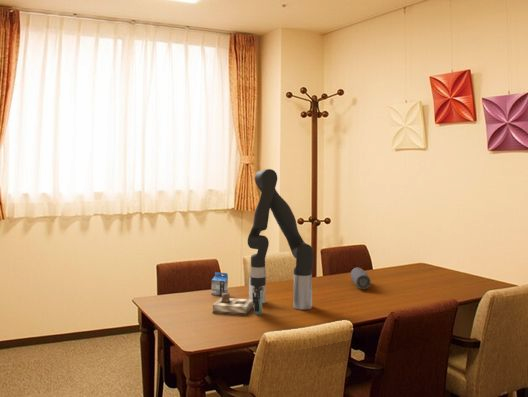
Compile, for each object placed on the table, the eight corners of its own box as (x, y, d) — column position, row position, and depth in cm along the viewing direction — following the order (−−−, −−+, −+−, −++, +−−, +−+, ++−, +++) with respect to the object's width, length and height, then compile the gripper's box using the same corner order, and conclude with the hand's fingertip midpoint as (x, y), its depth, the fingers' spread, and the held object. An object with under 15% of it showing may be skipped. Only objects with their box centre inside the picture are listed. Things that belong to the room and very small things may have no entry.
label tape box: (211, 294, 288) (211, 273, 287) (215, 293, 291) (215, 271, 291) (224, 296, 284) (224, 274, 283) (228, 294, 287) (228, 273, 287)
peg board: (252, 307, 262) (252, 291, 262) (246, 315, 248) (246, 298, 248) (220, 305, 266) (220, 290, 265) (212, 312, 252) (212, 296, 251)
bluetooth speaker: (371, 291, 295) (371, 274, 295) (355, 291, 296) (355, 274, 295) (364, 282, 318) (364, 266, 318) (349, 282, 318) (349, 266, 318)
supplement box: (251, 304, 267) (251, 280, 267) (248, 300, 274) (248, 277, 274) (265, 303, 269) (265, 279, 268) (261, 299, 276) (261, 276, 276)
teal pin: (262, 312, 253) (262, 294, 252) (261, 314, 249) (261, 296, 248) (254, 311, 254) (254, 294, 253) (253, 314, 250) (253, 296, 249)
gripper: (262, 279, 242) (262, 314, 244) (268, 272, 256) (268, 306, 257) (247, 278, 244) (247, 313, 245) (253, 272, 258) (253, 305, 259)
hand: (258, 309), depth 251 cm, fingers closed on teal pin, 4 cm apart
